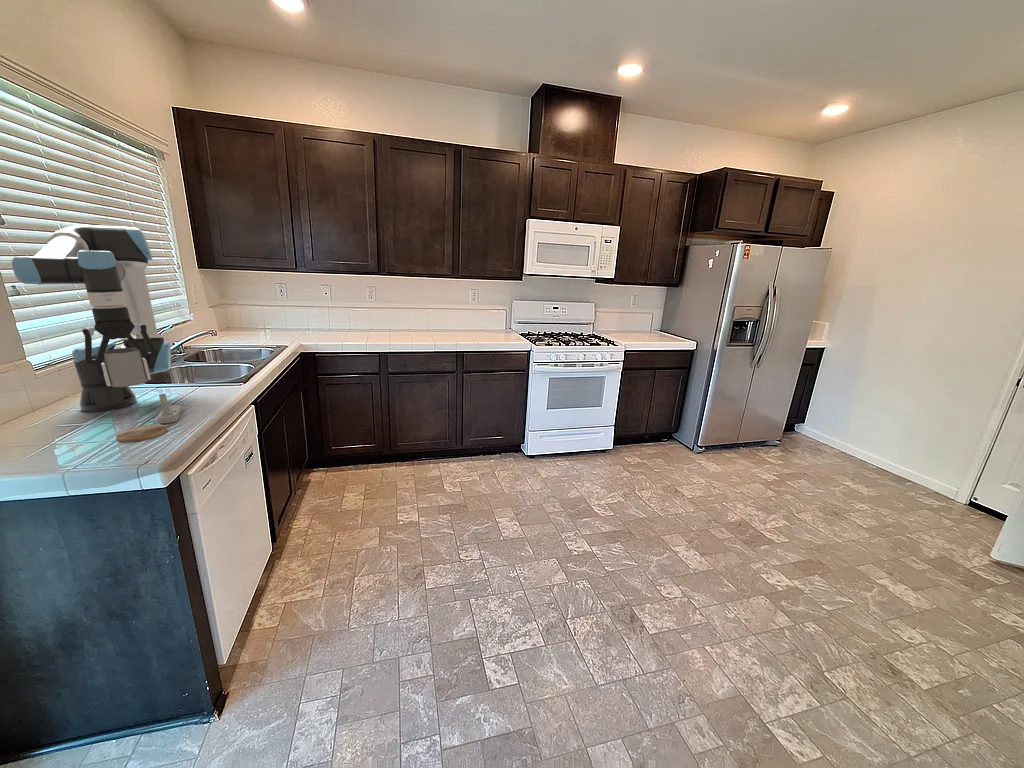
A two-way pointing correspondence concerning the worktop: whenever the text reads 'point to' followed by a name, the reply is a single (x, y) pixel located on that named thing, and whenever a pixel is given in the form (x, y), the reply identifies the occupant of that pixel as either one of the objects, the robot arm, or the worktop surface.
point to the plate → (141, 433)
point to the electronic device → (168, 411)
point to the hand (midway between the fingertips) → (129, 381)
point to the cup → (124, 367)
